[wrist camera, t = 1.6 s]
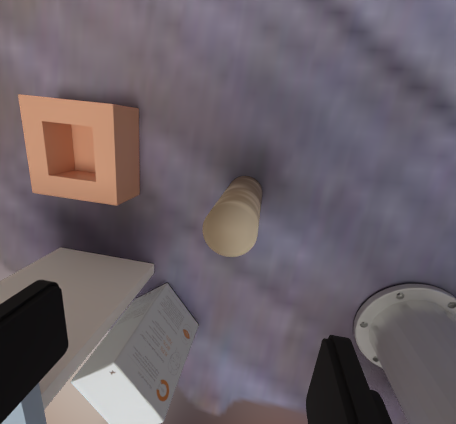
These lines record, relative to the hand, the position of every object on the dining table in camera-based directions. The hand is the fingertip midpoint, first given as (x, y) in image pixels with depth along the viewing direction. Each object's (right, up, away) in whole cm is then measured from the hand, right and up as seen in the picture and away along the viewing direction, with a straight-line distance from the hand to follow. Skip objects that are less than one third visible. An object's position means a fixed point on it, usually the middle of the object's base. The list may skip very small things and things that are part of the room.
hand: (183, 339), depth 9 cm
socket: (-14, +12, +22) cm, 29 cm away
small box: (-7, -10, +28) cm, 31 cm away
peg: (+4, +7, +21) cm, 22 cm away
